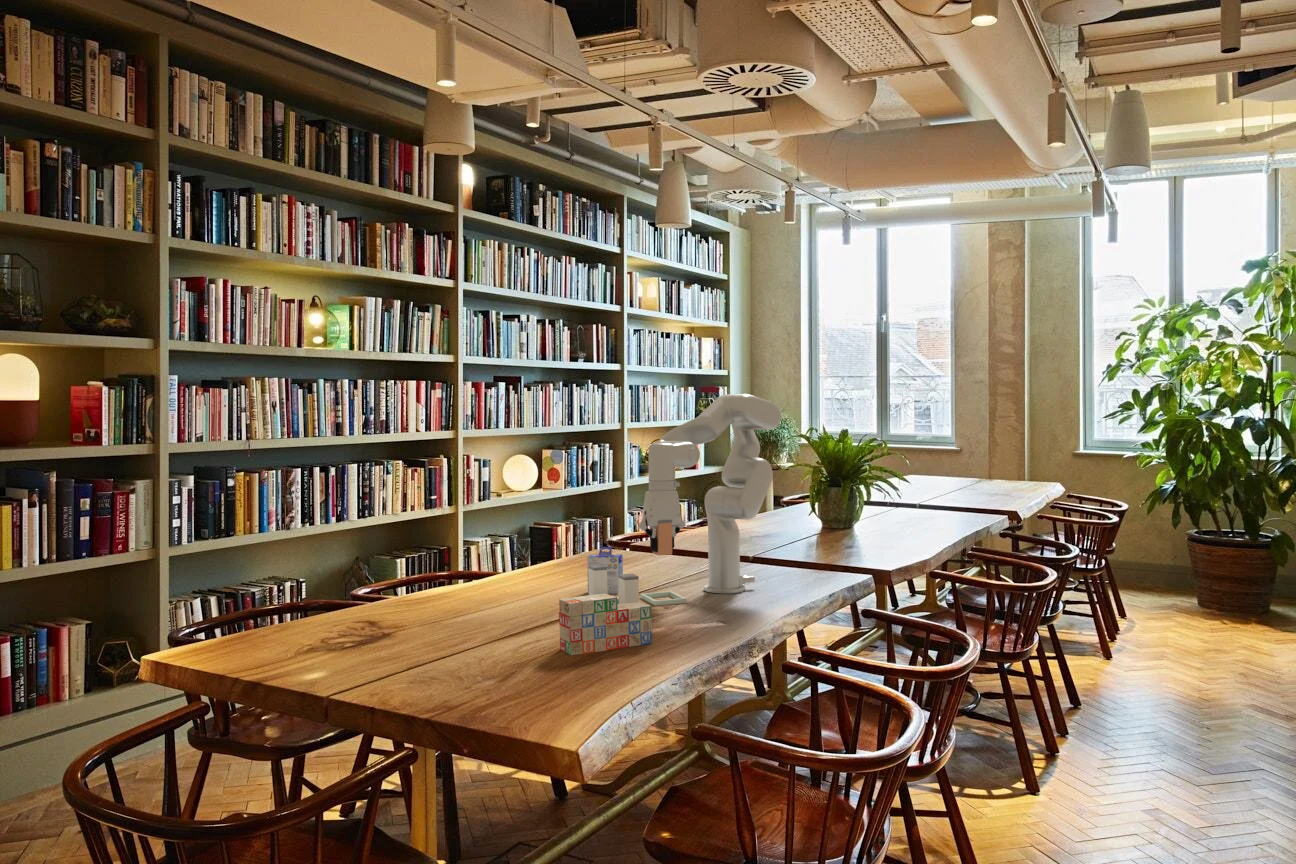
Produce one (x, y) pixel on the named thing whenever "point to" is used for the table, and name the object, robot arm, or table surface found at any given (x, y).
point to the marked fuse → (664, 537)
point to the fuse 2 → (628, 588)
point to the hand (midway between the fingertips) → (662, 550)
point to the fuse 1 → (597, 579)
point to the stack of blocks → (602, 624)
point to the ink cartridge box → (608, 568)
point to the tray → (650, 596)
